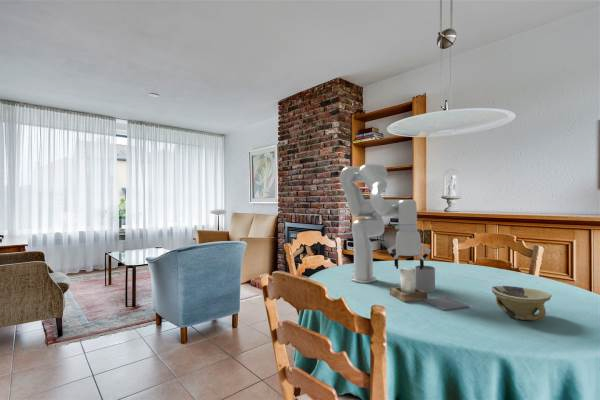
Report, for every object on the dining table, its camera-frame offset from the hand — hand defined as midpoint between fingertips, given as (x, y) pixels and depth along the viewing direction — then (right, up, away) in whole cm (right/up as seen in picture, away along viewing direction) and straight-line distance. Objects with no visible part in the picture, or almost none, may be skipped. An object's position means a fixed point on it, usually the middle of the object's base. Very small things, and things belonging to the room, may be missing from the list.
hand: (409, 268), depth 136 cm
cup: (+12, -12, +12) cm, 21 cm away
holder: (0, -12, +1) cm, 12 cm away
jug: (0, -12, 0) cm, 12 cm away
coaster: (+12, -12, -8) cm, 19 cm away
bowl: (+32, -12, -23) cm, 41 cm away
